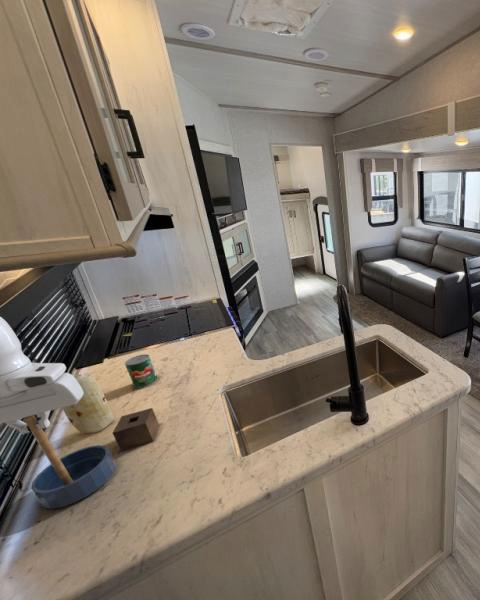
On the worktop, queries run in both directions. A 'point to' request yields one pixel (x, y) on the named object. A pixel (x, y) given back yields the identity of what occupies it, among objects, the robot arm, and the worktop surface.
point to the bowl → (75, 477)
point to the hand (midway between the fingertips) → (36, 429)
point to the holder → (136, 429)
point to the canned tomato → (141, 371)
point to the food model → (89, 407)
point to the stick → (48, 450)
